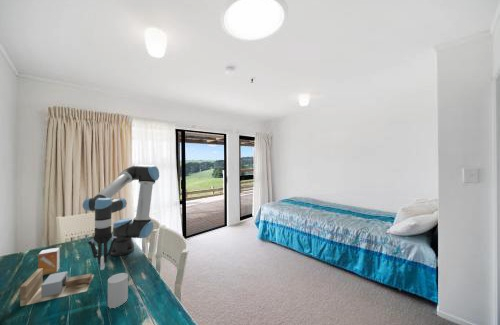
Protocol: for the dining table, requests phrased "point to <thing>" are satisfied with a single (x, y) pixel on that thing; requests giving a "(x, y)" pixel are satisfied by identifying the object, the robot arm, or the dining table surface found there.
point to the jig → (32, 289)
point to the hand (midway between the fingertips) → (102, 268)
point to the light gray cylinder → (117, 290)
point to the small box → (49, 260)
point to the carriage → (54, 284)
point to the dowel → (78, 280)
